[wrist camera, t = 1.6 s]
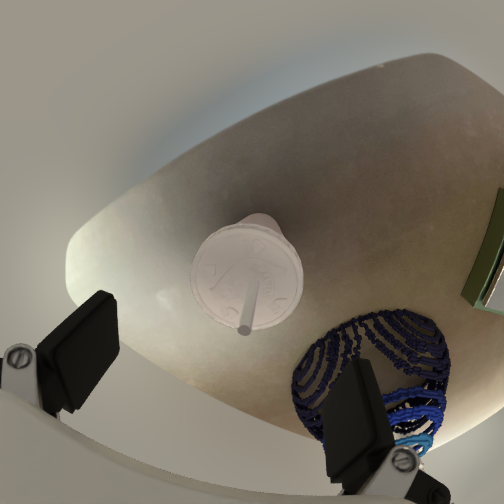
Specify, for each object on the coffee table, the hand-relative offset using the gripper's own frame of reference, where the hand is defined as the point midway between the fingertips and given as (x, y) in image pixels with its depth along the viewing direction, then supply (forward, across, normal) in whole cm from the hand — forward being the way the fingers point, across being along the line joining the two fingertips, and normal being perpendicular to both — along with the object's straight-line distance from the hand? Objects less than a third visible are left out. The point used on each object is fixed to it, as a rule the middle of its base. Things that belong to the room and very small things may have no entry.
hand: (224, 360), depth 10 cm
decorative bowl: (+16, -18, +13) cm, 27 cm away
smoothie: (+16, 0, -1) cm, 16 cm away
